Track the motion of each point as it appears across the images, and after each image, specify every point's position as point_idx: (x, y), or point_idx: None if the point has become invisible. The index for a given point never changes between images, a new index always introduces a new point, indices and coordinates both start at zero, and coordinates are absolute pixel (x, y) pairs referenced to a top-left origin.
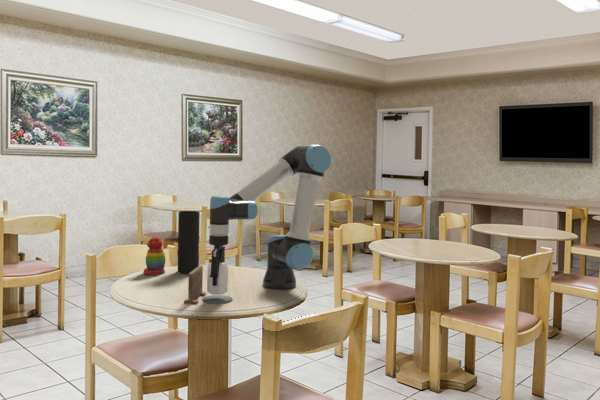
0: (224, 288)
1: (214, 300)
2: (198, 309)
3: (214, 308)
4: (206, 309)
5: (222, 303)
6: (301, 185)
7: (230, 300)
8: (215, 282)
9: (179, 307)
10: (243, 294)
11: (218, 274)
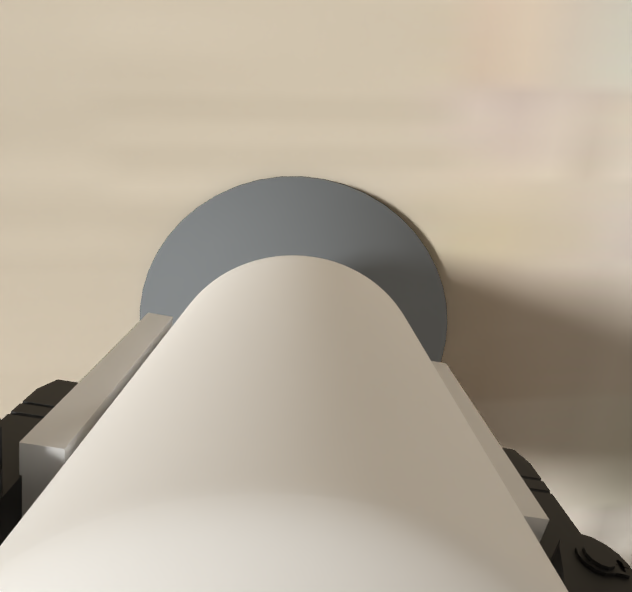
0: (397, 311)
1: None
2: (597, 464)
3: (595, 345)
4: (611, 407)
5: (439, 280)
6: None
7: (362, 200)
8: (543, 499)
9: None
10: (21, 31)
11: (565, 579)
